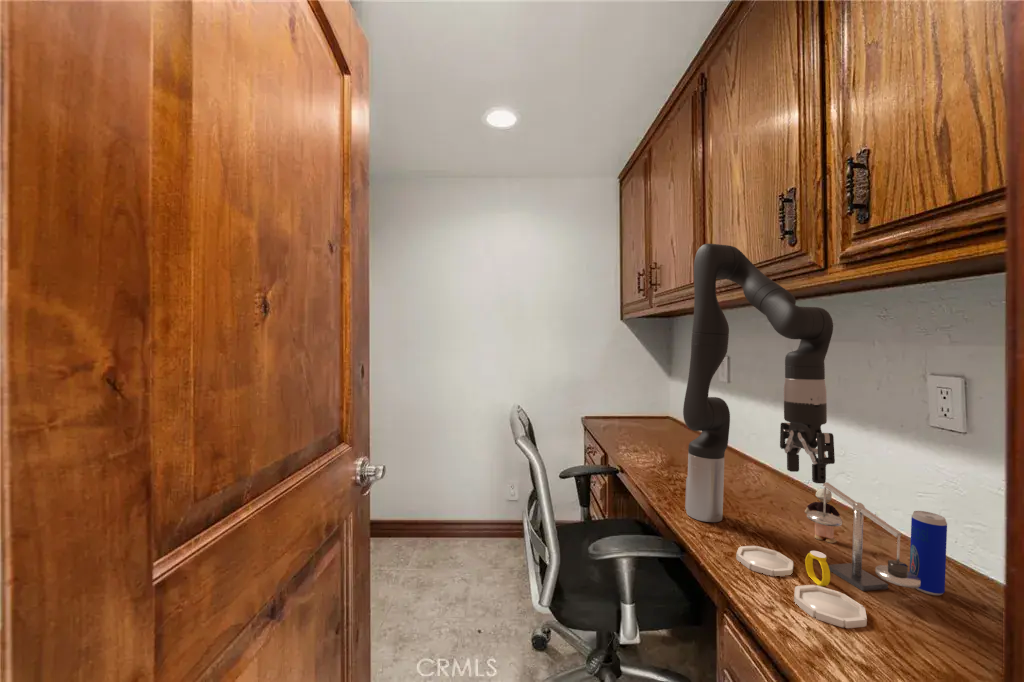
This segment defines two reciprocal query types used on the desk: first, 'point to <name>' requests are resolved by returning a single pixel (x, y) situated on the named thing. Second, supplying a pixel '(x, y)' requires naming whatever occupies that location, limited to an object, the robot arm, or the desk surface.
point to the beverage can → (928, 551)
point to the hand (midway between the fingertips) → (805, 476)
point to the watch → (824, 567)
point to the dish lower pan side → (830, 606)
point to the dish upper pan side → (764, 560)
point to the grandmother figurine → (821, 529)
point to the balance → (853, 572)
